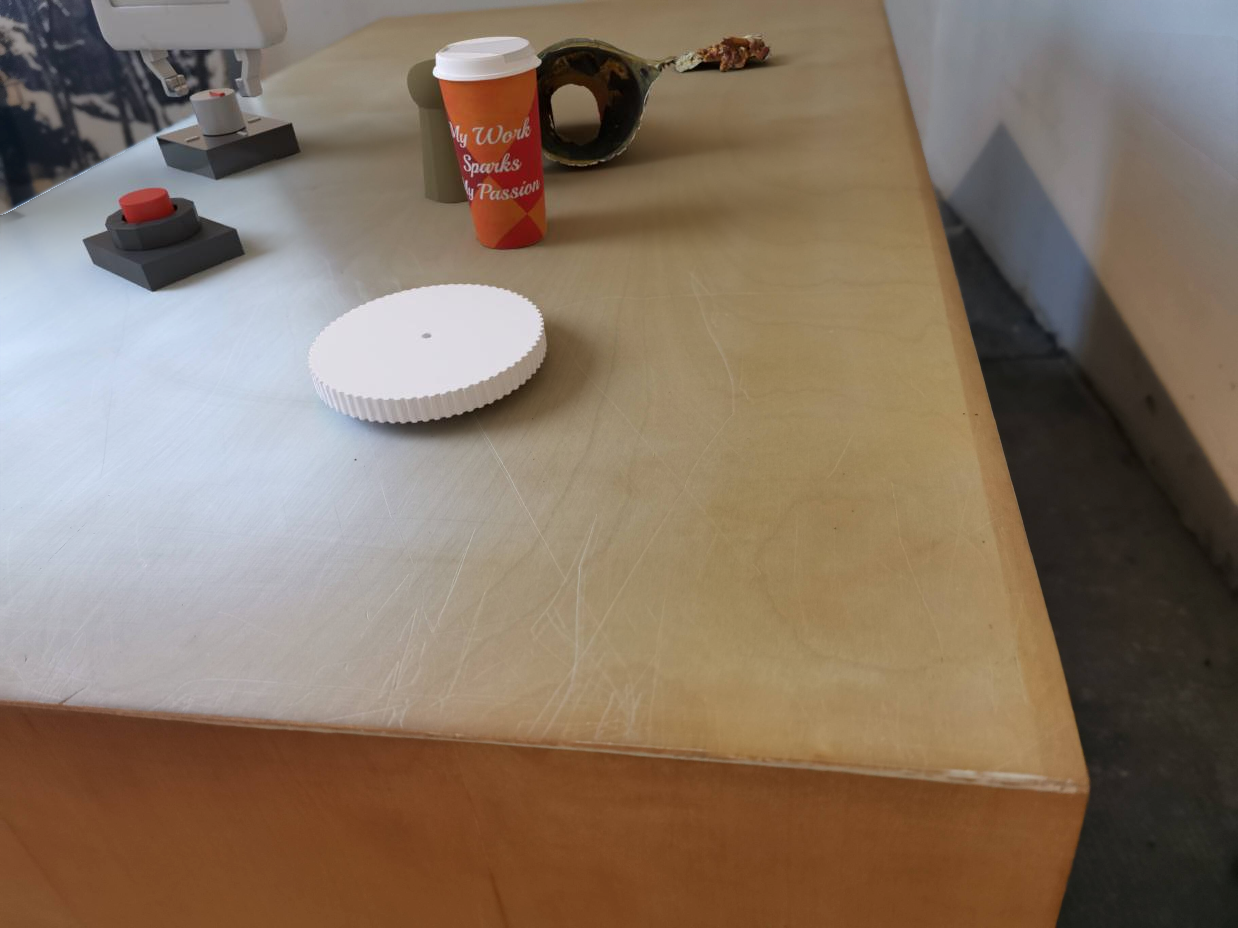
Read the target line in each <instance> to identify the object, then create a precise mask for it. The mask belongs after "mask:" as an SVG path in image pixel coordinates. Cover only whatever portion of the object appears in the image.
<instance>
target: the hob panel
mask: <svg viewBox="0 0 1238 928" xmlns="http://www.w3.org/2000/svg"><path fill="white" fill-rule="evenodd" d="M241 112H242V115H243V119H244V122H245V127H244V128H242V129H241V130H238V131H236V132H232V133H228V134H223V135H204V134H202V132H201V129H200V126H199V124H194V125H190V126H188V127H187V126H186V127H183V128H180V129H176V130H174V131H170V132H167V133H163V134H160V135H157V136H155V139H156V141H157V143H158V146H159V148H160V151H161V154H162V156H163V159H164V162H165V164H166V166H168V167H171V168H174V169H177V170H181V171H184V172H188V173H191V174H194V175H198V176H201V177H205V178H208V179H211V180H214V181H218V180H220V179H224V178H226V177H229V176H232V175H235V174H238V173H240V172H243V171H246V170H249V169H253V168H256V167H258V166H261V165H264V164H267V163H270V162H273V161H276V160H279V159H282V158H285V157H288V156H291V155H294V154H296V153H301V149H300V145H299V142H298V139H297V134H296V131H295V128H294V126H293V122H291V121H286V120H281V119H276V118H272V117H268V116H263V115H258V114H254V113H249V112H245V111H241Z"/></svg>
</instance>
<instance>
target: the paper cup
mask: <svg viewBox="0 0 1238 928" xmlns="http://www.w3.org/2000/svg"><path fill="white" fill-rule="evenodd" d="M535 53H536V50H535V48H533V47H532V46H531V43H530V41H529V40H528V39H526V38H522V37H517V36H488V37H479V38H474V39H473V38H471V39H465V40H461V41H457V42H453V43H450V44H447V45H446V46H444V47H443V48H441V49H440V50H439V51H438V52H436V53H435V59H436V66H435V67H434V69H433V75H434V76H435V77H437V78H438V79H439V83H440V87H441V91H442V95H443V99H444V104H445V108H446V113H447V117H448V121H449V125H450V129H451V133H452V137H453V141H454V145H455V149H456V153H457V158H458V162H459V166H460V170H461V174H462V178H463V182H464V186H465V191H466V195H467V199H468V200H467V202H468V206H469V210H470V214H471V218H472V222H473V226H474V229H475V233H476V236H477V239H478V241H479V243H480V244H481V245H482V246H484V247H486V248H490V249H495V250H511V249H518V248H523V247H527V246H530V245H533V244H535V243H537V242H539V241H541V240H542V239H544V237H545V236H546V234H547V212H546V211H547V209H546V196H545V180H544V179H545V177H544V165H543V164H544V163H543V154H542V148H541V134H540V120H539V106H538V92H537V78H536V67H538V66H539V65H540V64H541V60H540V59H538V57H537V54H535Z"/></svg>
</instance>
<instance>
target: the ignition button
mask: <svg viewBox="0 0 1238 928" xmlns="http://www.w3.org/2000/svg"><path fill="white" fill-rule="evenodd" d="M170 198H171V196H170V194H169V191H168V190H167V189H166V188H162V187H148V188H147V187H146V188H142V189H141V188H140V189H137V190H133V191H131V192H128V193H126V194H124V195H122V196H121V197H120V198H119V199H118V205H119V207H120V209H122V211H123V214H124V216H125V218H126V221H127V223H141V222H147V221H152V220H156V219H159V218H162V217H165V216H168V215H170V214H172V213H173V212H175V209H174V207H173V204H172V202H171V199H170Z"/></svg>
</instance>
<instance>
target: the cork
mask: <svg viewBox="0 0 1238 928" xmlns="http://www.w3.org/2000/svg"><path fill="white" fill-rule="evenodd" d="M435 66H436V58H432V59H427V60H424V61H420V62H419V63H416V64H414V65H413V66H412V67H410V69H409V70H408V72H407V76H406V86H407V90H408V92H409V94H410V97H411V99H412V101H413V102H414V103H415V104H416V105H417V106H418V116H419V131H420V143H421V145H420V146H421V157H422V169H423V171H422V172H423V182H424V183H423V184H424V193H425V194H424V195H425V197H426V199H428V200H429V201H433V202H436V203H437V202H438V203H445V204H449V203H460V202H465V201H467V202H468V199H467V195H466V191H465V186H464V182H463V178H462V174H461V170H460V166H459V162H458V158H457V153H456V149H455V145H454V141H453V137H452V133H451V129H450V125H449V121H448V117H447V113H446V108H445V104H444V99H443V95H442V91H441V87H440V83H439V79H438V78H437V77H435V76H434V75H433V69H434V67H435Z"/></svg>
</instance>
